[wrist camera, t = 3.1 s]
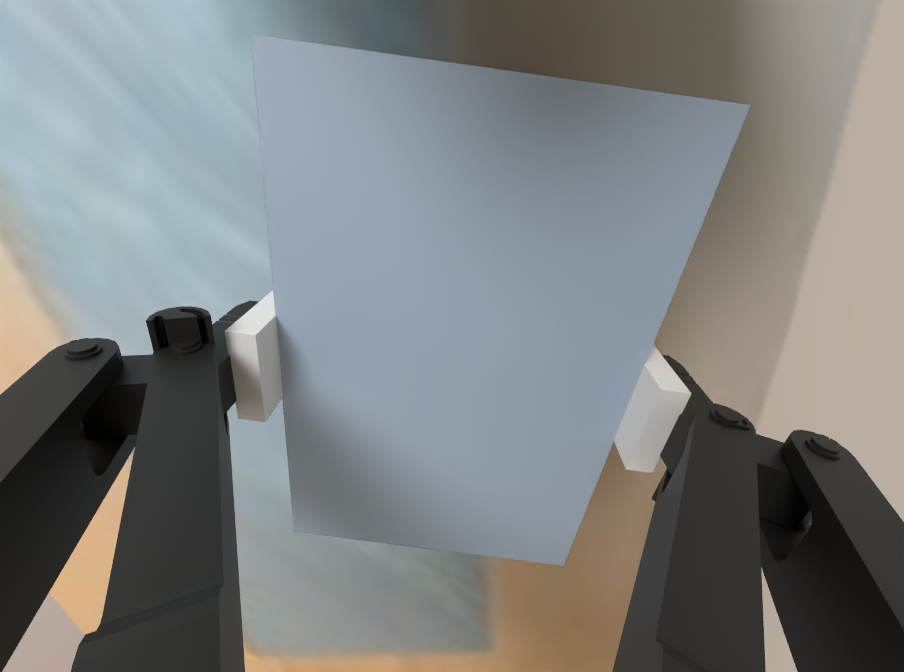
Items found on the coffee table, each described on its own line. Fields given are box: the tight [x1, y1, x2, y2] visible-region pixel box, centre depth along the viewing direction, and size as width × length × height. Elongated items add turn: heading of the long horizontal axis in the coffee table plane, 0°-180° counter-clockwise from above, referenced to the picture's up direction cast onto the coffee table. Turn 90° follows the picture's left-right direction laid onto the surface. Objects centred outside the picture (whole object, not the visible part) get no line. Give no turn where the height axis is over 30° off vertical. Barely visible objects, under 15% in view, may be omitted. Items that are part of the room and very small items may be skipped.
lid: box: [251, 34, 751, 566], centre depth 13 cm, size 15×10×3 cm, turn 173°
